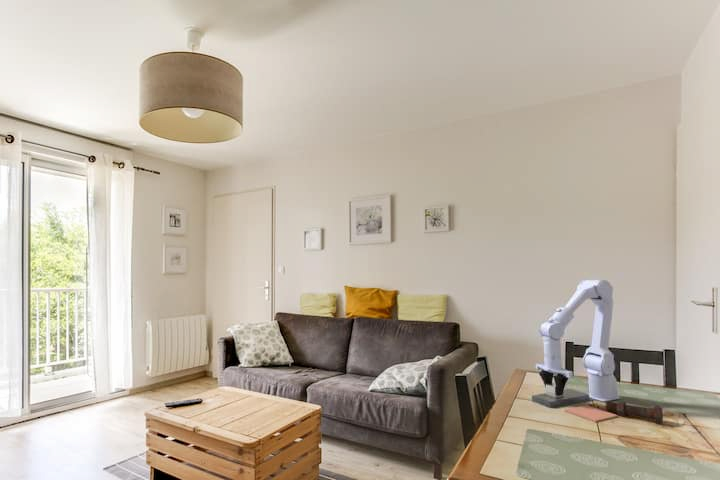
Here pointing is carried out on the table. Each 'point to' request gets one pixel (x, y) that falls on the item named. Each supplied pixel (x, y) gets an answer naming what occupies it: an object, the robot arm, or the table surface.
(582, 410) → the mat
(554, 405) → the block
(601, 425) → the table surface
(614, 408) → the bolt
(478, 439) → the table surface
